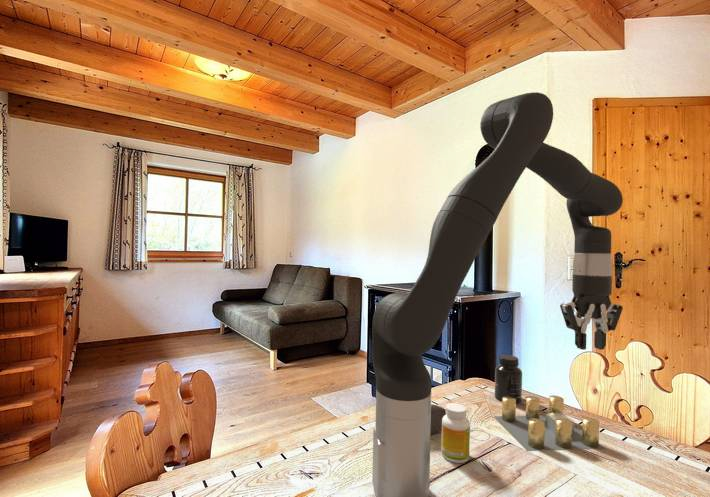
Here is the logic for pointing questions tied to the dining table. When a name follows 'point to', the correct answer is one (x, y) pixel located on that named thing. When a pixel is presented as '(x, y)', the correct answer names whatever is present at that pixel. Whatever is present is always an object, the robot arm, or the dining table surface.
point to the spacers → (562, 424)
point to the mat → (521, 435)
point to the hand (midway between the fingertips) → (590, 348)
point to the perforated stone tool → (436, 418)
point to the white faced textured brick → (552, 421)
